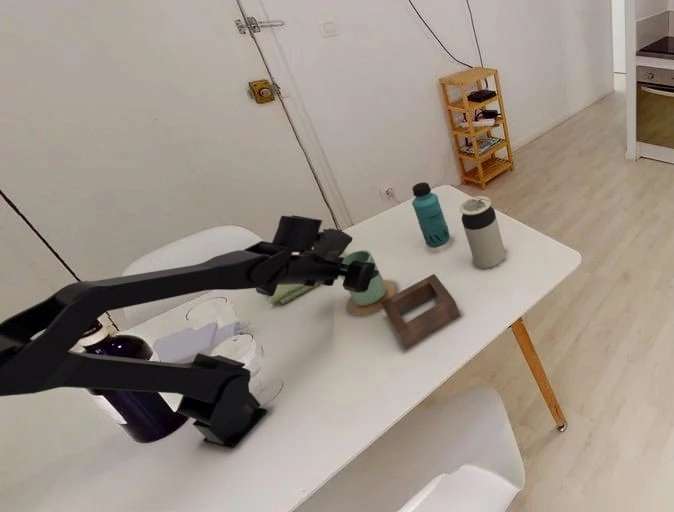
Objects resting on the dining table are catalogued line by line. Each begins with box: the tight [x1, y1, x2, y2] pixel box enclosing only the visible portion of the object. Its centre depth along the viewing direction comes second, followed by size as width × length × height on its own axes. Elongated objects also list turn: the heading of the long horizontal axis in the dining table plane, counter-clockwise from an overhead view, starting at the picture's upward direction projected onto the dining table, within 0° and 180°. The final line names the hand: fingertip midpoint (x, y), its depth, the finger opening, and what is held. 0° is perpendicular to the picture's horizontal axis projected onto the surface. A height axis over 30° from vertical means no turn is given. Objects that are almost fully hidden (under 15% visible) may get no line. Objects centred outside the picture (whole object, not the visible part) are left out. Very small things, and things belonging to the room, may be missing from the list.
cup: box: [339, 249, 387, 306], centre depth 96 cm, size 7×7×11 cm
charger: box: [151, 320, 251, 364], centre depth 87 cm, size 5×9×15 cm
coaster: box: [348, 280, 397, 316], centre depth 99 cm, size 10×10×1 cm
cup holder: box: [381, 273, 461, 350], centre depth 93 cm, size 12×12×5 cm
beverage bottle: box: [411, 181, 451, 249], centre depth 111 cm, size 6×7×20 cm
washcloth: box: [268, 252, 347, 305], centre depth 106 cm, size 13×18×3 cm
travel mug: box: [459, 195, 506, 269], centre depth 106 cm, size 8×8×18 cm
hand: (365, 270), depth 96 cm, fingers closed on cup, 7 cm apart
